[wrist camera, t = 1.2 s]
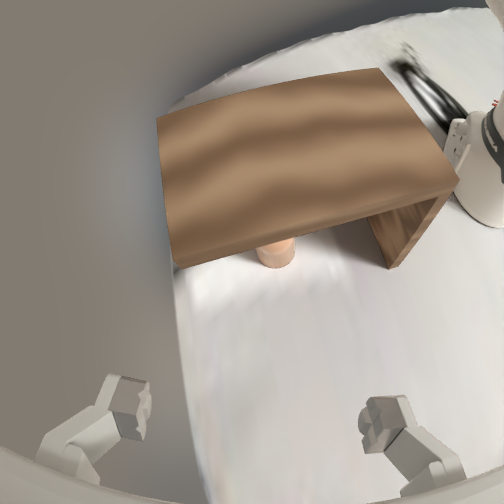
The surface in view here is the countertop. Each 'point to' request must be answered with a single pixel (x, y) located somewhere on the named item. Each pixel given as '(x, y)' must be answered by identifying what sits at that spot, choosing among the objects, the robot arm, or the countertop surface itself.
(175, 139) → the shelf
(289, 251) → the jar
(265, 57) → the countertop surface
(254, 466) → the countertop surface
